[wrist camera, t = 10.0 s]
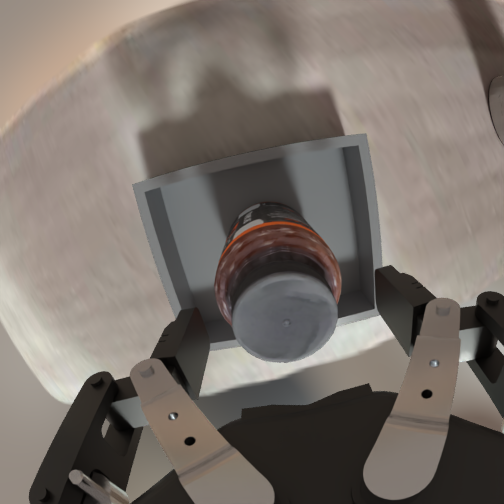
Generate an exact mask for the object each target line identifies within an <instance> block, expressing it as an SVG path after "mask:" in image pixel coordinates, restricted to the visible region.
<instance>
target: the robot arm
mask: <svg viewBox="0 0 504 504" xmlns="http://www.w3.org/2000/svg"><path fill="white" fill-rule="evenodd" d="M489 105H490V111H491V115H492V120H493V123H494V126H495V129H496V131H497V134H498V136H499V138H500V140H501V142H502V143H503V145H504V76H499V77H496V78H494V79H493V81H492V82H491V85H490V89H489ZM374 277H375V300H376V306H377V310H378V312H379V314H380V315H381V317H382V318H383V319H384V321H385V322H386V324H387V325H388V327H389V328H390V330H391V331H392V333H393V334H394V336H395V337H396V339H397V340H398V341H399V343H400V345H401V346H402V347H403V349H404V350H405V352H406V354H407V355H408V357H410V356H411V359H410V362H409V365H408V368H407V371H406V374H405V377H404V380H403V383H402V386H401V388H400V391H399V393H394V392H387V391H374V392H372V389H371V387H370V385H369V383H368V384H365V385H361V386H358V387H354V388H350V389H347V390H343V391H339V392H337V393H335V394H332V395H330V396H328V397H325V398H323V399H321V400H319V401H317V402H314V403H312V404H309V405H268V406H261V407H253V408H245V409H242V416H241V418H240V419H237V420H234V421H232V422H230V423H228V424H226V425H224V426H222V427H221V428H219V429H218V430H216V428H215V427H214V426H213V425H212V424H211V423H210V421H209V420H208V419H207V418H206V417H205V415H204V414H203V413H202V412H201V411H200V410H199V408H198V407H197V406H196V404H195V403H194V402H193V401H192V400H198V397H199V393H200V389H201V384H202V380H203V376H204V371H205V367H206V363H207V359H208V355H209V350H210V339H209V335H208V333H207V330H206V327H205V325H204V322H203V319H202V317H201V314H200V311H199V309H198V308H197V307H194V308H188V309H182V310H180V312H179V314H178V316H177V318H176V320H175V321H173V322H171V323H170V324H169V325H168V326H167V327H166V328H165V329H164V331H163V333H162V335H161V336H162V337H160V339H159V343H157V345H156V347H155V349H154V351H153V353H152V355H151V357H150V359H146V360H143V361H141V362H139V363H138V364H136V365H135V366H134V367H133V368H132V370H131V372H130V377H126V378H122V379H118V380H114V378H113V377H112V375H111V374H110V373H109V372H105V371H103V372H98V373H96V374H94V375H92V376H90V377H89V378H88V379H87V380H86V382H85V383H84V385H83V386H82V388H81V390H80V392H79V393H78V395H77V397H76V399H75V400H74V402H73V404H72V406H71V408H70V409H69V411H68V413H67V415H66V417H65V419H64V420H63V422H62V424H61V426H60V428H59V430H58V432H57V434H56V436H55V438H54V440H53V441H52V443H51V446H50V447H49V450H48V452H47V454H46V456H45V458H44V460H43V462H42V464H41V466H40V468H39V471H38V473H37V475H36V477H35V479H34V482H33V484H32V486H31V489H30V492H29V501H30V504H129V498H128V496H127V494H126V493H125V491H126V487H127V484H128V480H129V476H130V472H131V468H132V465H133V461H134V458H135V454H136V450H137V447H138V443H139V440H140V436H141V433H142V430H143V426H145V425H150V427H151V429H152V431H153V432H154V434H155V436H156V438H157V440H158V442H159V444H160V445H161V447H162V449H163V451H164V453H165V454H166V456H167V458H168V459H169V461H170V463H171V464H172V466H173V467H174V469H173V470H172V471H171V472H169V473H168V474H167V475H166V476H165V477H163V478H162V479H161V480H160V481H159V482H157V483H156V484H155V485H154V486H152V487H151V488H150V489H149V490H147V491H146V492H145V493H144V494H142V495H141V496H140V497H138V498H137V499H136V500H134V501H133V502H132V503H130V504H504V355H503V354H502V353H501V352H500V350H499V349H498V348H497V347H496V344H497V341H498V340H499V341H500V342H501V343H502V345H503V346H504V296H503V295H501V294H499V293H497V292H491V291H488V292H483V293H481V294H480V295H479V296H478V297H477V301H476V306H471V307H463V308H460V306H459V304H458V303H457V302H456V301H454V300H452V299H448V298H436V297H435V296H434V295H433V294H432V293H431V292H430V291H428V290H427V289H426V288H425V287H423V285H422V284H421V283H420V282H419V283H418V281H417V280H416V279H415V278H414V277H413V276H411V275H408V274H405V273H399V272H398V271H397V270H396V269H395V268H394V267H393V266H391V265H389V266H385V267H382V268H378V269H375V272H374ZM463 361H466V362H467V363H468V364H469V366H470V368H471V369H472V371H473V372H474V373H475V375H476V376H477V378H478V379H479V381H480V382H481V384H482V385H483V387H484V388H485V390H486V392H487V393H488V394H489V396H490V398H491V400H492V401H493V403H494V404H495V406H496V408H497V409H498V411H499V413H500V414H501V416H502V418H503V420H502V432H503V433H501V432H498V431H495V430H492V429H489V428H487V427H484V426H481V425H478V424H475V423H472V422H470V421H467V420H464V419H462V418H459V417H457V416H454V415H451V414H450V413H451V408H452V403H453V398H454V393H455V387H456V380H457V373H458V365H459V362H463ZM105 418H106V419H107V420H108V421H109V423H110V425H109V428H108V430H107V433H106V435H105V438H103V436H102V432H101V429H102V425H103V423H104V421H105Z"/></svg>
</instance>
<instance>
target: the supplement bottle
mask: <svg viewBox="0 0 504 504" xmlns="http://www.w3.org/2000/svg"><path fill="white" fill-rule="evenodd" d="M341 282H342V279H341V273H340V268H339V265H338V262H337V260H336V258H335V256H334V254H333V252H332V251H331V249H330V248H329V246H328V245H327V244H326V243H325V241H324V240H323V239H322V238H321V237H320V236H319V234H318V233H317V232H316V231H315V230H314V229H313V228H312V227H311V226H310V225H309V224H308V223H307V221H306V220H305V219H304V218H303V217H302V216H301V215H300V214H299V213H298V212H297V211H295V210H294V209H292V208H291V207H289V206H287V205H285V204H282V203H278V202H261V203H257V204H254V205H252V206H250V207H248V208H247V209H245V210H244V211H243V212H241V213H240V214H239V215H238V217H237V218H236V219H235V221H234V222H233V224H232V225H231V228H230V231H229V233H228V236H227V239H226V242H225V245H224V248H223V251H222V254H221V257H220V260H219V263H218V267H217V271H216V276H215V282H214V289H215V297H216V301H217V304H218V307H219V309H220V312H221V314H222V315H223V317H224V319H225V320H226V321H227V322H228V323H229V324H230V325H231V327H232V329H233V332H234V335H235V338H236V339H237V341H238V343H239V344H240V345H241V346H242V347H243V348H244V349H245V350H246V351H247V352H248V353H249V354H251V355H253V356H255V357H256V358H259V359H261V360H264V361H269V362H279V363H281V362H284V363H287V362H292V361H297V360H301V359H304V358H305V357H308V356H310V355H312V354H313V353H315V352H316V351H318V350H319V349H321V348H322V347H323V346H324V345H325V343H326V342H327V341H328V340H329V339H330V337H331V336H332V334H333V333H334V330H335V328H336V324H337V321H338V307H337V304H338V301H339V298H340V294H341Z"/></svg>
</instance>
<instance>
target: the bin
mask: <svg viewBox="0 0 504 504" xmlns="http://www.w3.org/2000/svg"><path fill="white" fill-rule="evenodd" d="M132 186H133V190H134V194H135V197H136V201H137V205H138V208H139V212H140V215H141V219H142V222H143V226H144V229H145V232H146V235H147V239H148V242H149V245H150V248H151V251H152V254H153V257H154V260H155V263H156V266H157V269H158V272H159V275H160V278H161V281H162V284H163V286H164V289H165V292H166V295H167V297H168V300H169V303H170V305H171V308H172V310H173V313H174V316H175V318H177V316H178V314H179V312H180V310H182V309H188V308H194V307H197V308H198V309H199V311H200V314H201V317H202V319H203V322H204V325H205V327H206V330H207V333H208V335H209V339H210V350H209V351H214V350H221V349H228V348H234V347H240V346H241V345H240V344H239V343H238V341H237V339H236V338H235V335H234V332H233V329H232V327H231V325H230V324H229V323H228V322H227V321H226V320H225V319H224V317H223V315H222V314H221V312H220V309H219V307H218V304H217V301H216V297H215V289H214V282H215V276H216V271H217V267H218V263H219V260H220V257H221V254H222V251H223V248H224V245H225V242H226V239H227V236H228V233H229V231H230V228H231V225H232V224H233V222H234V221H235V219H236V218H237V217H238V215H239V214H240V213H241V212H243V211H244V210H245V209H247V208H248V207H250V206H252V205H254V204H257V203H261V202H278V203H282V204H285V205H287V206H289V207H291V208H292V209H294V210H295V211H297V212H298V213H299V214H300V215H301V216H302V217H303V218H304V219H305V220H306V221H307V223H308V224H309V225H310V226H311V227H312V228H313V229H314V230H315V231H316V232H317V233H318V234H319V236H320V237H321V238H322V239H323V240H324V241H325V243H326V244H327V245H328V246H329V248H330V249H331V251H332V252H333V254H334V256H335V258H336V260H337V262H338V265H339V268H340V273H341V279H342V282H341V294H340V298H339V301H338V304H337V307H338V321H337V324H336V327H338V326H342V325H346V324H349V323H353V322H357V321H361V320H364V319H368V318H371V317H375V316H378V315H380V314H379V312H378V310H377V306H376V300H375V277H374V272H375V269H378V268H382V250H381V236H380V224H379V214H378V204H377V196H376V188H375V181H374V175H373V168H372V162H371V156H370V151H369V145H368V140H367V135H366V133H365V134H356V135H347V136H339V137H332V138H324V139H318V140H311V141H305V142H299V143H293V144H288V145H282V146H277V147H272V148H267V149H262V150H257V151H252V152H248V153H243V154H239V155H234V156H230V157H226V158H222V159H218V160H214V161H210V162H206V163H202V164H198V165H195V166H191V167H187V168H184V169H180V170H177V171H174V172H170V173H167V174H164V175H160V176H157V177H154V178H151V179H148V180H145V181H141V182H138V183H135V184H132Z"/></svg>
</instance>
